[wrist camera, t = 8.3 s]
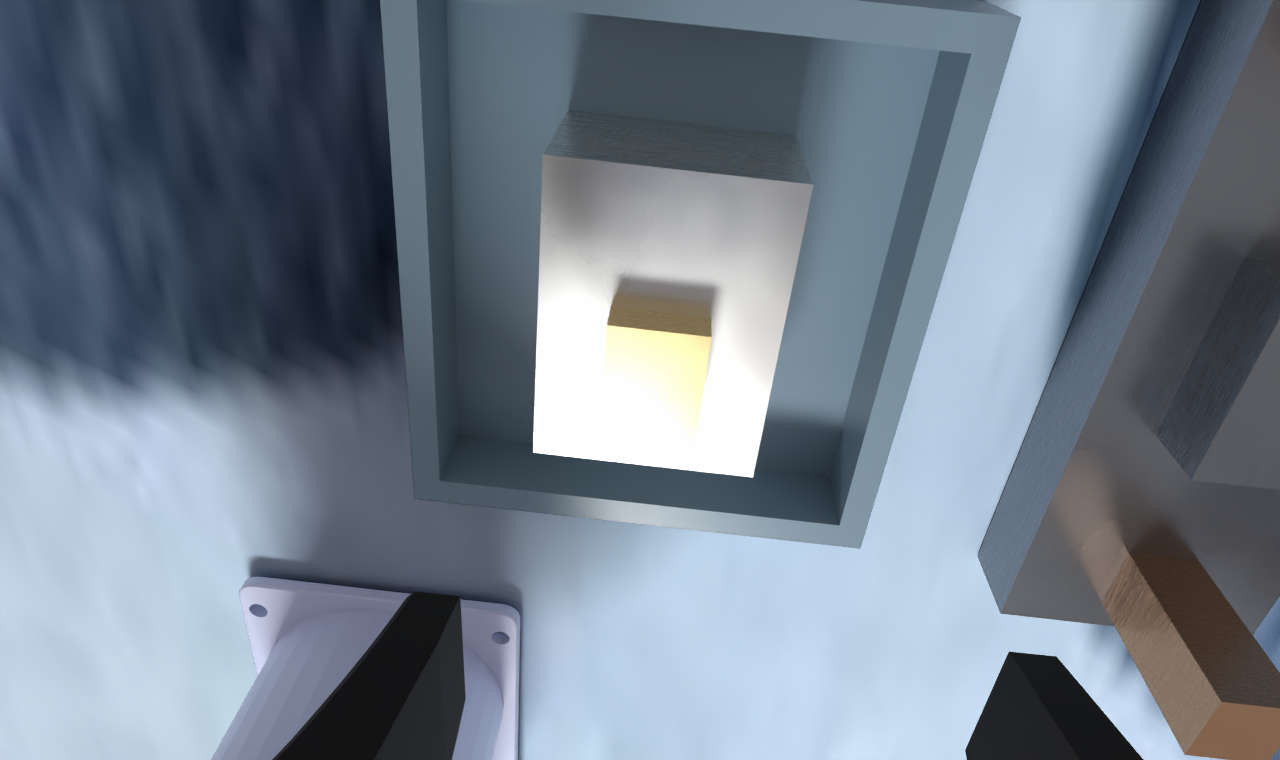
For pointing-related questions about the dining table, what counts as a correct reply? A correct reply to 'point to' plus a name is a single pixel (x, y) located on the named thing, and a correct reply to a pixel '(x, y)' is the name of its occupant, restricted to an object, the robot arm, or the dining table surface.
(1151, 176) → the hand plane
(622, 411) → the white yellow block
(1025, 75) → the dining table surface
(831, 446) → the tray
